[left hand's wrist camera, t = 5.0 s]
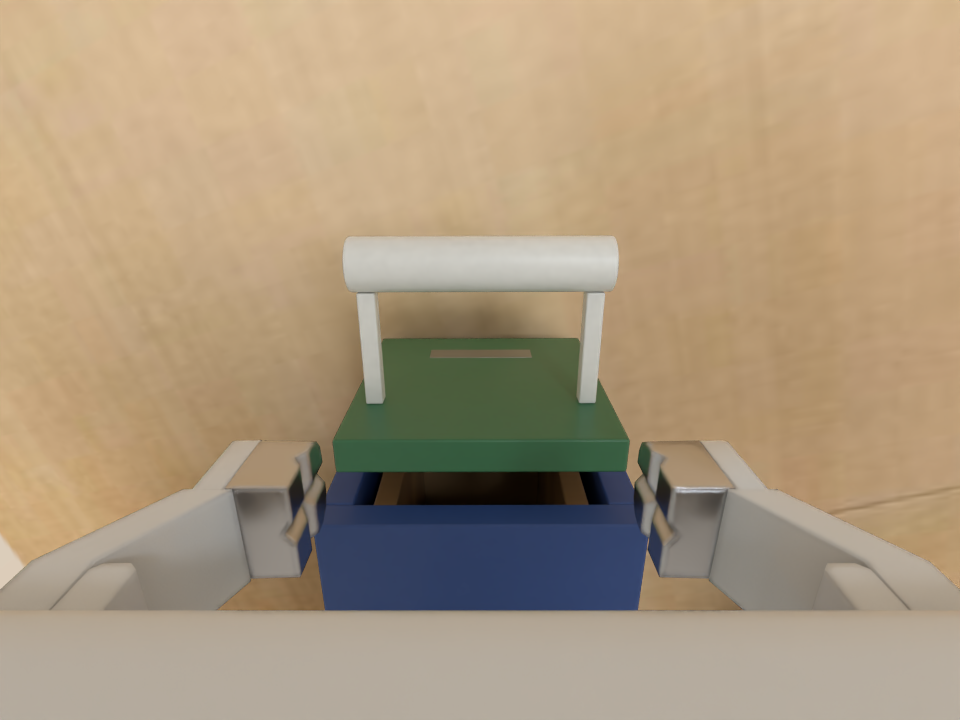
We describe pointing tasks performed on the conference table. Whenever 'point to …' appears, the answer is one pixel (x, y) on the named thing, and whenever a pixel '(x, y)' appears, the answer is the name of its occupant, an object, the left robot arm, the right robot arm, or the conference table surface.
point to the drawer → (481, 377)
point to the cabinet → (480, 551)
